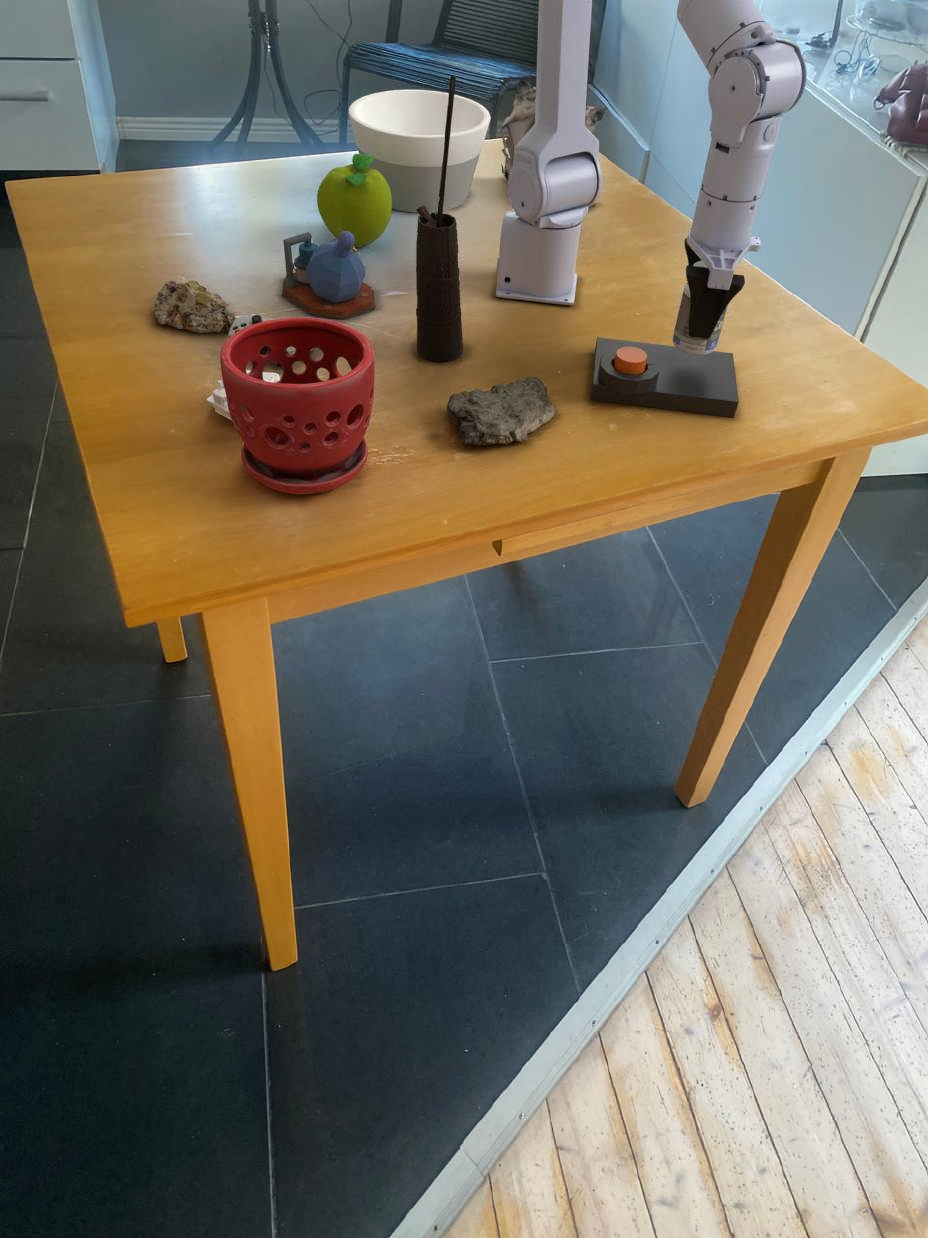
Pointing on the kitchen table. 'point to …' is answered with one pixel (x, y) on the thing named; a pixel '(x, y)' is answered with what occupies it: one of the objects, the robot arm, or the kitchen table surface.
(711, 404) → the grey push button box
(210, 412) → the kitchen table surface
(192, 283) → the mineral rock
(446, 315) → the butter churn
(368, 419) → the plant pot
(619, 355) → the button
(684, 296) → the pill bottle
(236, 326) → the game controller
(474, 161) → the bowl
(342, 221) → the fruit
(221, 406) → the toy car
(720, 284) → the robot arm
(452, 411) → the stone
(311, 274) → the model
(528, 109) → the jagged grey brown piece
